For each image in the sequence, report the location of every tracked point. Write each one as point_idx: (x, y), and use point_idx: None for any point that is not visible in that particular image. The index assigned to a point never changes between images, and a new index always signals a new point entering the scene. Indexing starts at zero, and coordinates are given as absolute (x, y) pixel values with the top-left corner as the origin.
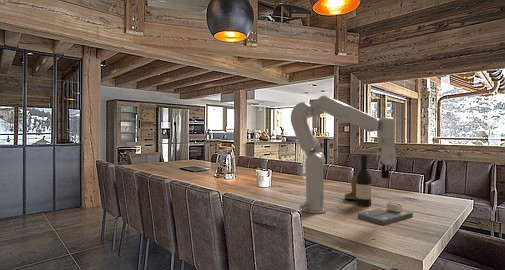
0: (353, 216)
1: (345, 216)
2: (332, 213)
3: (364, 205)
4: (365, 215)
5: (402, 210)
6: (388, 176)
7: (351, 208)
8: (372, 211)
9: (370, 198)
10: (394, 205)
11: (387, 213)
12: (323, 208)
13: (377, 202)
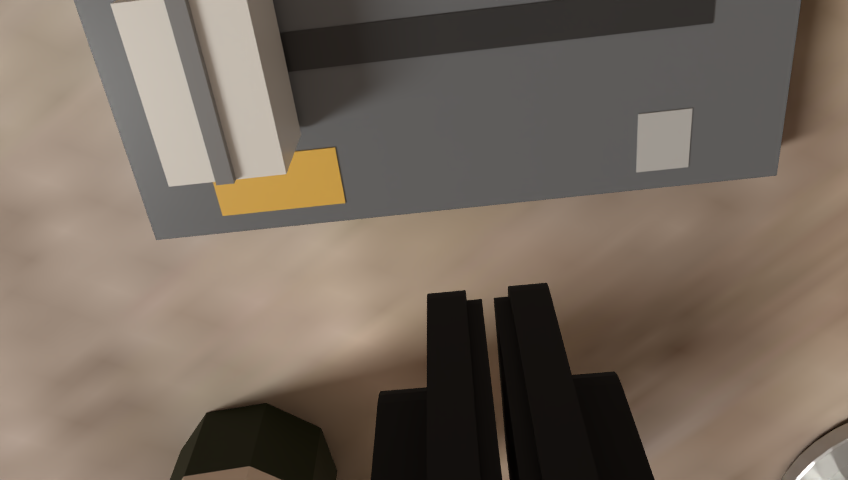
0: (755, 206)
1: (829, 241)
2: (835, 366)
3: (299, 426)
4: (781, 73)
5: (87, 25)
6: (462, 324)
7: (497, 415)
8: (527, 167)
9: (195, 476)
10: (259, 39)
11: (427, 11)
12: (829, 475)
13: (33, 467)
